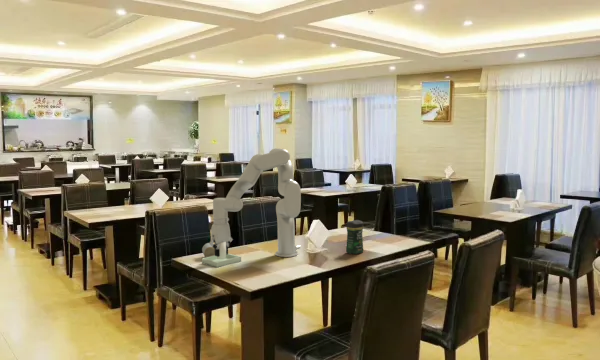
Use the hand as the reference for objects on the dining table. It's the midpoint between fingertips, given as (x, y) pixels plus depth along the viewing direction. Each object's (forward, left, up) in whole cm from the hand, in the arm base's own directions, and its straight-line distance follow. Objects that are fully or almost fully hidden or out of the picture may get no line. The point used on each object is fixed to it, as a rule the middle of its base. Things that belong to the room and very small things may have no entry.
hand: (221, 254), depth 258 cm
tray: (0, 0, -4) cm, 4 cm away
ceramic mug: (-3, -12, -4) cm, 14 cm away
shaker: (0, 0, -2) cm, 2 cm away
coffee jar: (-62, +42, -4) cm, 75 cm away
